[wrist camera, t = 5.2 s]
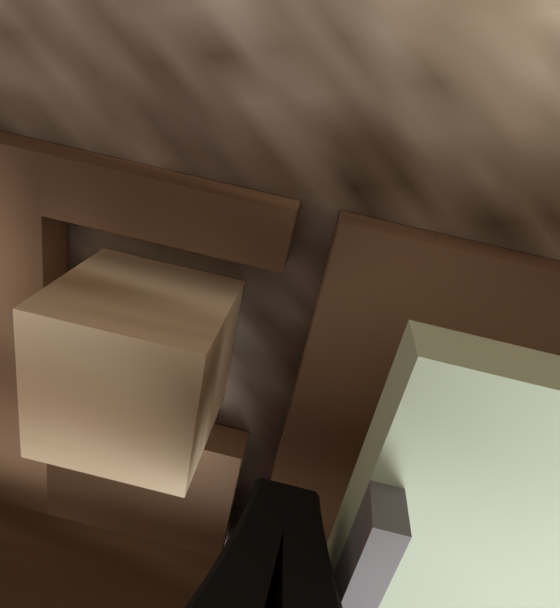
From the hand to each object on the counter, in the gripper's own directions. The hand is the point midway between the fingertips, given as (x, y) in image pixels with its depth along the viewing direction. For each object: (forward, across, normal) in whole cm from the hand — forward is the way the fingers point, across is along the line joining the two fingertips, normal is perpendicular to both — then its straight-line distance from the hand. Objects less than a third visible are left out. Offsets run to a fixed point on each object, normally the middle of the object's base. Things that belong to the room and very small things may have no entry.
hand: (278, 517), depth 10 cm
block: (+5, +4, -1) cm, 6 cm away
